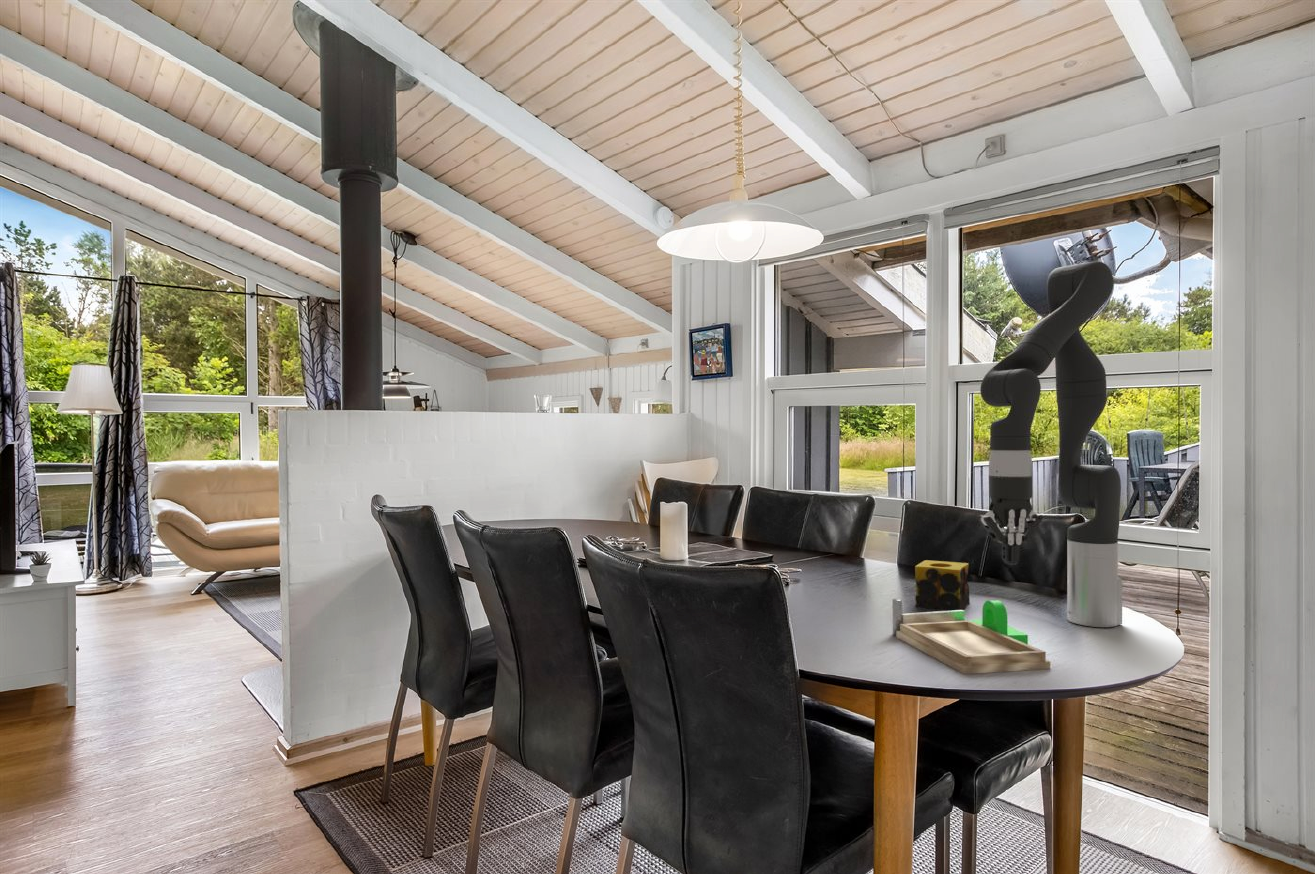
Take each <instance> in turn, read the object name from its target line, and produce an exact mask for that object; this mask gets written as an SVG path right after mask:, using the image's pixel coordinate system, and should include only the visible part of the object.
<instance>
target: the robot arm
mask: <svg viewBox="0 0 1315 874" xmlns="http://www.w3.org/2000/svg"><path fill="white" fill-rule="evenodd" d="M1113 290H1114V276H1113V272H1112V270H1111V269H1110V266H1109V265H1108V264H1107V263H1105V262H1102V261H1098V260H1097V261H1086V262H1081V263H1076V264H1071V265H1064V266H1060V267H1056V268H1054V269H1053V270H1051V272H1050V273H1049V275H1048V277H1047V282H1046V298H1047V299H1046V300H1047V305H1048V307H1047V308H1048V313H1049V314H1048V315H1046V316H1045V317H1044V318H1042V319H1040V320H1039V321H1038V322H1037V323H1035V324H1034V325H1032V327H1030V329H1028V330H1027V332H1025V334H1024V335H1023V336H1022V338H1021V339H1020V340H1019V342H1018V343H1017V345H1016V346H1015V347H1014V349H1013V350H1012V352H1010V353H1009V354H1008V355H1006V356H1005V357H1003V359H1001V360H1000V361H998V362H997V363H996V364H995V365H994V366H992V368H990V369H989V370H988V371H987V373H986V374H985V375H984V377H983V379H982V380H981V383H980V396H981V399H982V400H983V402H984V403H985V404H986V405H988V406H991V407H995V408H1001V407H1002V408H1004V407H1007V408H1008V407H1010V409H1009V412H1008V413H1007V416H1006V417H1004V418H1000V419H996V420H994V421H993V422H991V424H990V427H989V428H990V431H989V435H990V437H989V438H990V439H989V441H990V442H989V443H990V444H989V446H990V448H989V449H990V450H989V459H988V496H989V498H990V503H989V505H988V511H987V512H986V513H985V514H984V515H979V516H978V521H979V523H980V525H981V526H982V527H983V528H984V529H985V531H986V533H987V534H988V535H989V537H990V538H991V540H992V541H994V542H998V543H1000V544H1001V559H1002V561H1003V563H1004V564H1005V565H1012V566H1013V565H1017V564H1019V562H1020V555H1021V554H1020V550H1021V549H1020V546H1021V545H1022V543H1023V542H1028V541H1030V540H1031V538H1032V536H1033V535H1034V533H1035V531H1037V529H1038V527H1039V526H1040V525H1041V523H1042V521H1043V518H1044V517H1043V515H1041V514H1037V513H1036V512H1035V511H1034V510H1033V504H1032V503H1031V499H1032V498H1033V459H1032V453H1031V449H1032V448H1031V445H1032V443H1031V441H1032V439H1031V437H1032V436H1031V434H1032V433H1031V432H1032V431H1031V429H1032V425H1033V423H1034V418H1035V415H1036V412H1037V408H1038V405H1039V401H1040V397H1041V391H1042V388H1041V381H1040V379H1039V376H1041V375H1042V374H1043V373H1045V371H1046V370H1047V369H1048V367H1050V366H1051V363H1052V362H1053V361H1054V364H1055V392H1056V406H1057V416H1058V434H1059V435H1058V437H1059V440H1058V441H1059V445H1058V446H1059V448H1058V476H1057V477H1058V479H1057V480H1058V481H1057V482H1058V493H1059V497H1060V500H1061V502H1062V504H1063V505H1064V506H1066V507H1069V508H1078V509H1090V510H1091V509H1092V510H1095V512H1094V517H1092V518H1091V519H1089V520H1088V521H1084V522H1081V523H1076V524H1072V525H1070V526H1068V528H1067V531H1066V532H1067V533H1066V534H1067V540H1066V541H1067V544H1066V546H1067V547H1066V548H1067V549H1066V550H1067V551H1066V553H1067V554H1066V555H1067V560H1066V561H1067V563H1066V564H1067V565H1066V566H1067V567H1066V568H1067V572H1066V573H1067V576H1066V577H1067V582H1066V583H1067V584H1066V585H1067V587H1066V588H1067V602H1066V603H1067V609H1066V611H1067V613H1066V614H1067V621H1069V622H1070V623H1073V624H1076V625H1080V626H1086V627H1094V628H1113V627H1114V628H1115V627H1117V626H1119V625H1123V579H1122V578H1120V577H1119V555H1118V554H1119V543H1118V542H1119V541H1118V540H1119V537H1118V536H1119V529H1120V509H1121V495H1122V484H1121V483H1122V481H1121V476H1120V473H1119V471H1118V470H1117V469H1116V467H1114V466H1112V465H1101V464H1100V465H1098V464H1097V465H1096V464H1082V451H1083V447H1084V443H1085V442H1086V439H1087V436H1088V435H1089V434H1090V432H1091V429H1092V428H1093V427H1094V426H1095V424H1096V422H1097V421H1098V420H1099V418H1100V417H1101V415H1102V413H1103V412H1104V410H1105V408H1106V405H1107V402H1108V392H1107V373H1106V369H1105V367H1104V364H1103V363H1102V361H1101V360H1100V358H1099V357H1098V356H1097V354H1096V353H1095V352H1094V351H1093V349H1092V348H1091V346H1089V344H1088V343H1087V341H1086V340H1085V338H1084V337H1083V335H1082V333H1081V330H1080V328H1081V327H1082V326H1083V325H1084V324H1085V323H1086V322H1087V321H1088V320H1089V319H1090V318H1091V317H1092V316H1093V315H1094V314H1095V313H1096V312H1097V311H1098V310H1099V309H1101V307H1102V306H1103V305H1104V304H1105V303H1106V302H1108V300H1109V298H1110V296H1111V295H1112V292H1113Z"/></svg>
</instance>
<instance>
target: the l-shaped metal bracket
mask: <svg viewBox="0 0 1315 874" xmlns="http://www.w3.org/2000/svg"><path fill="white" fill-rule="evenodd" d="M965 613H966V611H965V609H964V610H951V611H944V610H938V611H937V610H936V611H926V612H925V611H924V612H909V613H903V599H901V598H893V599H892V636H895V637H896V631H900V624H910V623H929V622H948V621H966V620H965V619H966V615H965Z"/></svg>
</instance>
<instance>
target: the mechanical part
mask: <svg viewBox="0 0 1315 874" xmlns="http://www.w3.org/2000/svg"><path fill="white" fill-rule="evenodd" d="M981 611H982V612H981V613H982V619H969V620H970V621H972V622H975V623H977V624H979V625H982V626H984V627H987V628H989V629H991V630H994V631H996V632H999V633H1001V634H1004V635H1006V636H1008V637H1011V638H1013V639H1016V640H1018V641H1020V642H1023V643H1025V644H1028V645H1029V638H1028V637H1029V635H1028V634H1027V633H1025V632H1022V631H1021V630H1019V629H1016V628H1014V627H1012V626H1009V625H1008V612H1007V609H1006V607H1005V604H1004V603H1003V602H1002V601H1001V600H986V601H984V603H983V606H982V610H981ZM967 620H968V619H966V620H965V621H967Z"/></svg>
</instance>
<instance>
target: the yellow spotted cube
mask: <svg viewBox="0 0 1315 874" xmlns="http://www.w3.org/2000/svg"><path fill="white" fill-rule="evenodd" d="M969 564H970V563H969V562H968V563H967V562H956V561H944V560H942V561H941V560H928V559H926V560H923V561H921V562H919V563H918V564H917V565H915V566H914V573H915V577H914V580H915V589H916V590H915V593H916V594H915V597H914V598H915V599H914V600H915V608H922V609H923V608H924V609H928V610H929V609H930V610H936V611H937V610H938V611H951V610H964V611H965V610H966V609H967V606H969V605H970V604H971V601H970V600H971V599H970V585H969V584H968V575H969Z"/></svg>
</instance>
